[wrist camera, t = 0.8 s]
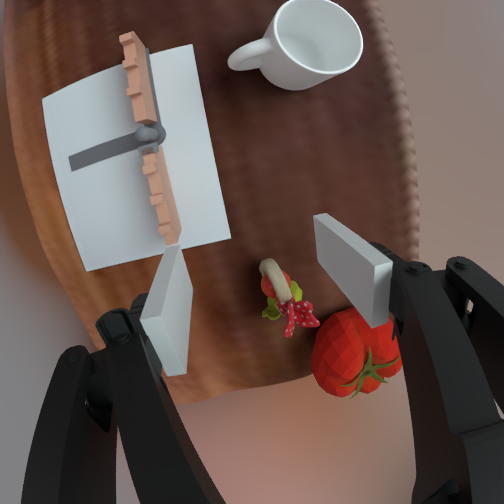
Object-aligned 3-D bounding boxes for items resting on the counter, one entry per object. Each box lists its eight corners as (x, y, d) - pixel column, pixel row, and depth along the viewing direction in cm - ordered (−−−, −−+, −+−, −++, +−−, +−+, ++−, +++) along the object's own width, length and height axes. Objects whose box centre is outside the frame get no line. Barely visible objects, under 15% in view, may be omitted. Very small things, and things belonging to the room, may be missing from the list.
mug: (235, 106, 29) (245, 90, 20) (215, 44, 26) (217, 7, 16) (331, 86, 29) (374, 70, 20) (311, 28, 26) (346, -5, 17)
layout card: (42, 92, 24) (40, 92, 24) (191, 38, 25) (190, 36, 25) (87, 270, 34) (86, 272, 33) (230, 237, 35) (231, 238, 34)
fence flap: (148, 146, 29) (134, 147, 23) (163, 142, 29) (152, 142, 23) (169, 231, 33) (161, 250, 27) (184, 228, 33) (178, 246, 27)
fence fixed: (134, 50, 25) (117, 31, 18) (146, 46, 25) (131, 26, 18) (151, 142, 29) (135, 143, 23) (162, 139, 29) (149, 138, 23)
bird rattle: (240, 269, 39) (268, 328, 39) (232, 276, 28) (271, 356, 28) (282, 249, 39) (309, 309, 39) (290, 249, 28) (327, 330, 28)
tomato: (296, 365, 45) (316, 419, 34) (311, 292, 40) (344, 344, 29) (364, 357, 47) (393, 402, 36) (388, 289, 42) (430, 331, 31)
